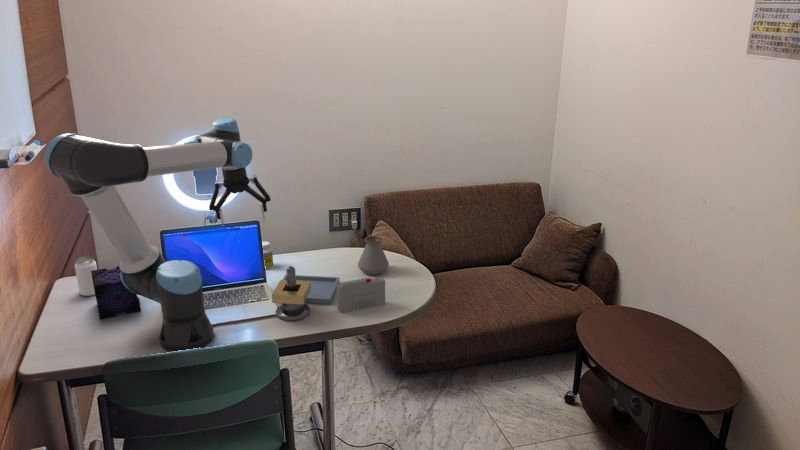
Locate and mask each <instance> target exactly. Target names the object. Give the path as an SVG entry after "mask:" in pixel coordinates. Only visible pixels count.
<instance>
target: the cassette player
mask: <svg viewBox="0 0 800 450" xmlns="http://www.w3.org/2000/svg"><path fill="white" fill-rule="evenodd" d="M340 282H341V281H340ZM336 300H337V301H336V302H337V310H338V312H339V313H340V314H341V313H346V312H352V311H358V310H363V309H369V308H373V307H378V306H384V305H386V280H385V279H384V277H383V276H381V277H375V278H371V277H366V278H365V277H364V278H358V279H353V280H348V281H347V280H346V281H342V282H341V283H339V284H338V285H337V290H336Z"/></svg>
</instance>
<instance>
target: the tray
mask: <svg viewBox="0 0 800 450" xmlns="http://www.w3.org/2000/svg"><path fill="white" fill-rule="evenodd" d="M281 280H287V275H286V274H284V276H283V278H282V279H281ZM296 280H302V281H309V282H311V291H310V293H309V295H308V297H307V299H306V301H305V303H304V304H311V305H313V304H314V305H329V306H330V305H332V304H331V303H332V302H333V299H334V296H335V294H336V293H337V285H338V284H340V277H339V276H322V275H321V276H319V275H317V276H316V275H303V274H302V275H301V274H296Z"/></svg>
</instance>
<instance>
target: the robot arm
mask: <svg viewBox="0 0 800 450" xmlns="http://www.w3.org/2000/svg"><path fill="white" fill-rule="evenodd" d="M252 149H253V148H252V147H251V146H250V144H248V143H245V142H243V141H241V136H240V130H239V126H238V122H237V121H236V119H234V118H229V117H227V118H226V117H225V118H219V119H216V120H215V121H213V123H212V130H210V131H208V132H205V133H202V134H199V135H197V136H192V137H191V138H189V139H187V140H185V141H184V143H182V144H171V145H169V144H168V145H157V146H147V147H146V146H145V147H143V146H142V145H140V144H138V143H130V144H129V143H128V144H126V143H117V142H112V141H107V140H103V139H98V138H94V137H88V136H84V135H83V134H79V133H62V134H60V135H58V136H56V137H54V138H53V139H52V140H50V142H49V143H48V144H47V145H46V148H45V152H44V156H43V159H44V164H45V167H46V168H47V170H48V171H49V172H50V173H51V174H52V175H54V176H55V177H57V178H60V179H61V180H62V181H63V183H64V185H65V187H66V188H67V189H68V191H69V193H70V194H71V195H73V196H75V197H81V199H82V201H83V202H84V204H85V206H86V207H87V209H88V211H89V212H90V213H91V215H92V216H93V218H94V219H95V221H96V223H97V224H98V226H99V228H100V229H101V231H102V232H103V234H104V235H105V237H106V239H107V240H108V242H109V243H110V245H111V247H112V248H113V250H114V251H115V253H116V254H117V256H118V258H119V259H120V262H119V265H118V266H119V267H120V270H121V273H120V278H121V281H122V283H123V285H124V286H125V287H126V288H127V289H129V290H130V291H131V292H133V293H135V294H137V296H141V297H144V298H146V299H149V300H151V301H153V302H155V303H158V304H160V308H161V313H162V322H161V327H160V331H159V335H158V337H159V344H160V347H161V348H162V349H163V350H165V351H167V352H169V351H178V350H186V349H193V348H199V347H202V348H204V347H206V346H207V345H208V344H210V343H211V342H212V341H213V339H214V337H215V334H214V333H215V332H214V327H213V325H212V323H211V321H210V319H209V317H208V315H207V314H206V309H205V300H204V291H203V277H202V275H201V270H200V268H199V267H198V266H197V265H196V263H194V262H191V261H189V260H184V259H182V260H179V259H173V260H168V261H166V260H165V258H164V256H163V255H162V253H161V252H160V249H159V248H158V247H157V246H155V245H150V243H149V242H148V241H147V239H146V237H145V235H144V234H143V231H142V230H141V228H140V227H139V224H138V222H137V221H136V219H135V218H134V216H133V215H132V212H131V211H130V210H129V207H128V206H127V204H126V202H125V201H124V199H123V197H122V195H121V194H120V192H119V191H118V189H117V187H116V186H120V185H126V184H128V185H129V184H134V183H141V182H144V181H146V180H147V179H148V177H154V176H155V177H157V176H164V175H171V174H179V173H186V172H195V171H202V170H209V169H218V168H221V173H222V177H223V181H218V180H216V181H214V190H213V193H212V196H211V200H210V203H209V211H211V212H212V211H215V214H216V219H217V220H220V221H221V226H224V225H222V224H225V219H224V214H223V210H222V206H223V205H224V204H225V202H226V200H227V199H228V197H229V196H230V194H237V193H240V194H241V193H243V192H246V193H248V194H249V195H250V196H252V197H254V199H256V200H257V201H259V205H260V211H261V215H262V216H261V217H262V222H263V223H266V216H265V213H266V212H267V211H268V208H267V203H268V202H271V195H270V194H269V193H268V192H267V190H266V189H265V188H264V187H263V185H262V184H261V183H260V182H259V180H258V176H257V175H256V174H254V175H252V177H248V174H247V168H246V167H248V166H250V164H251V162H252V160H253V150H252ZM250 183H251V184H253V185H255V187H256V188H257V190H258V191H259V192H260V193H261V195H260V194H259V193H258V192H257V191H255V189H253V188H252V187H251V186H250V185H249V184H250ZM222 187H224V188H225V191H224V192H223V194H222V195H221V196H220V198H219V200H218V201H216V200H217V199H218V195H219V193H220V190H221V189H222ZM216 202H217V203H216Z"/></svg>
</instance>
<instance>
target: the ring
mask: <svg viewBox="0 0 800 450" xmlns="http://www.w3.org/2000/svg"><path fill="white" fill-rule="evenodd" d="M310 291H311V282H309V281H302V280H296V292H293V291H287V280H282V279H280V280H279V282H278V284H277V285H276V286H275V289H274V290H273V292H272V293H271V303H272V304H281V303H286V304H303V305H304V304H306V303H305V301H306V299H307V297H308V295H309V293H310Z"/></svg>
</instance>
